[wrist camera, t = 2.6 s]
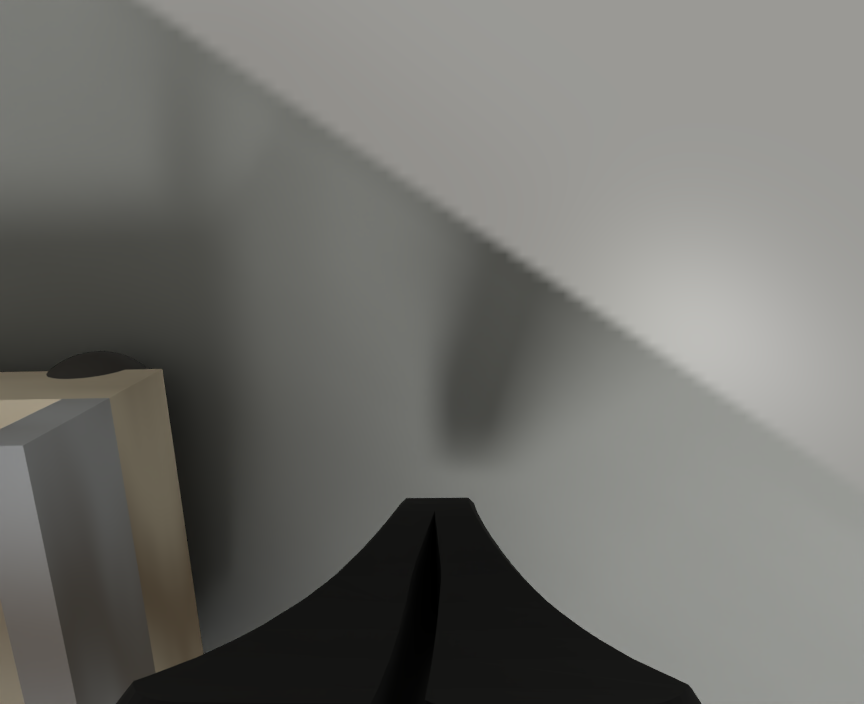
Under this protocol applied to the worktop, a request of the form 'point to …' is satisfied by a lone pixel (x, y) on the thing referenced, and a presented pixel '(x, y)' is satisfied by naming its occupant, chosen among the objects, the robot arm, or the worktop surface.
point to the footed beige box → (90, 533)
